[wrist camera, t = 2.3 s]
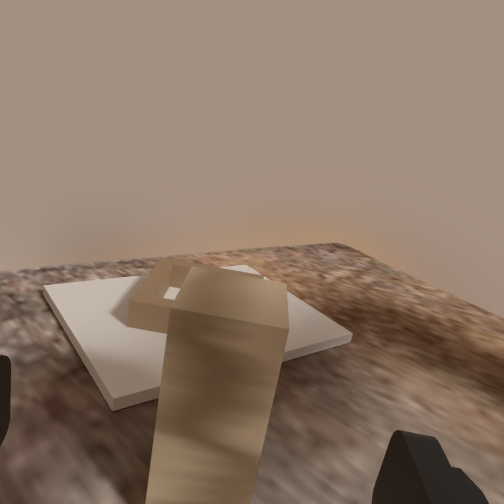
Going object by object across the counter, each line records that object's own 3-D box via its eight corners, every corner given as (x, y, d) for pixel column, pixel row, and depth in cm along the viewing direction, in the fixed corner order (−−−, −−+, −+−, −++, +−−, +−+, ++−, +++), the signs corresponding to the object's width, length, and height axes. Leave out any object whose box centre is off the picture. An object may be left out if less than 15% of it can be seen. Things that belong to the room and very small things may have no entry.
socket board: (244, 272, 57) (249, 246, 56) (350, 342, 44) (359, 310, 43) (43, 295, 42) (44, 260, 41) (112, 411, 29) (116, 365, 28)
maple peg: (247, 463, 27) (286, 283, 23) (241, 540, 22) (289, 329, 18) (166, 449, 27) (191, 266, 23) (143, 522, 22) (170, 307, 18)
